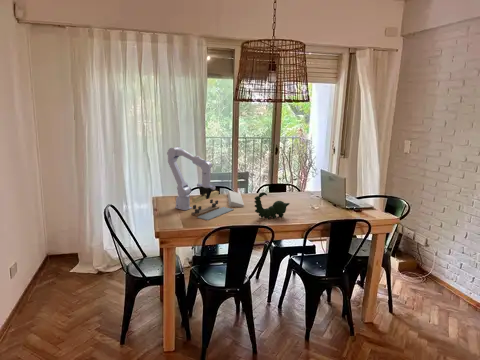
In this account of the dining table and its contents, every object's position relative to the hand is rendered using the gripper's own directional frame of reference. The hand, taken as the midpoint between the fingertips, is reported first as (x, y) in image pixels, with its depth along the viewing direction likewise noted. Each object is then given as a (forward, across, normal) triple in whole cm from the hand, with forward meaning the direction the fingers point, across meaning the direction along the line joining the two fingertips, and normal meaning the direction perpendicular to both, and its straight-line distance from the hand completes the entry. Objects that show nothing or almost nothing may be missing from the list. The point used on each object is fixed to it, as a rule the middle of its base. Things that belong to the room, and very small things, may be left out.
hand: (205, 198), depth 246 cm
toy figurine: (+10, -43, -17) cm, 47 cm away
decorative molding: (+10, -1, -36) cm, 38 cm away
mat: (+9, -9, 0) cm, 13 cm away
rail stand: (+9, 0, 0) cm, 9 cm away
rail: (0, 0, 0) cm, 0 cm away
